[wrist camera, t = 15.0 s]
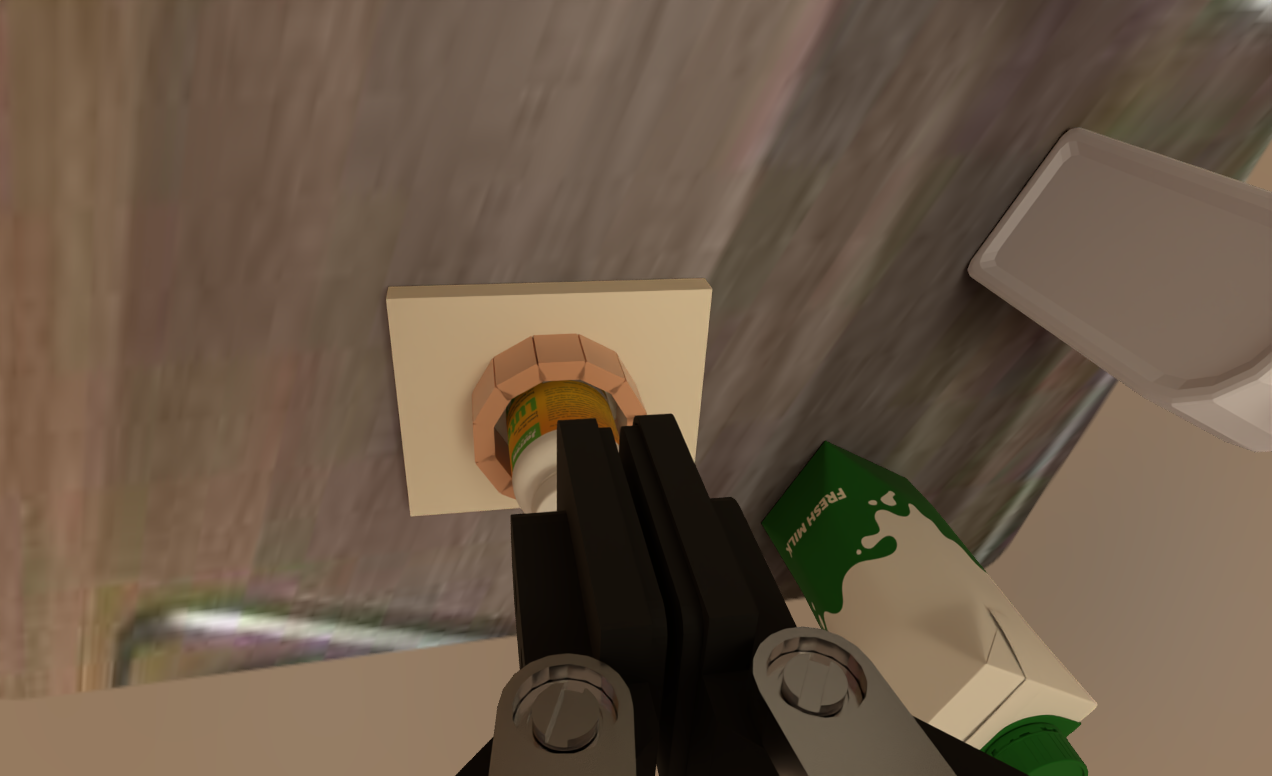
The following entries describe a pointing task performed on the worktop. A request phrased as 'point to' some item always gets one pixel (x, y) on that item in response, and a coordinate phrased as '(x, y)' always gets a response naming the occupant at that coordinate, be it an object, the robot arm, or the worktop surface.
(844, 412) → the worktop surface
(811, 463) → the milk carton
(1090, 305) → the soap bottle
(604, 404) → the supplement bottle
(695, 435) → the coaster board
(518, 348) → the bottle collar
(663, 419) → the robot arm
